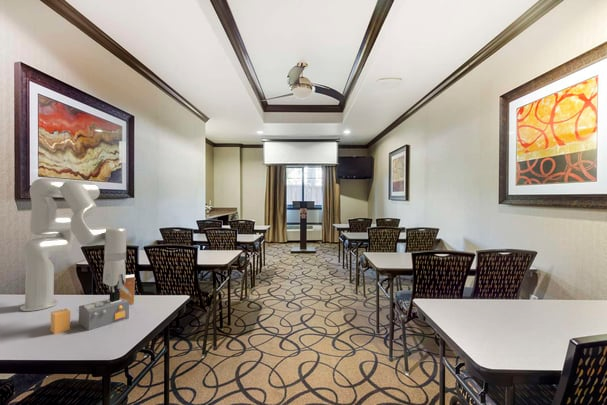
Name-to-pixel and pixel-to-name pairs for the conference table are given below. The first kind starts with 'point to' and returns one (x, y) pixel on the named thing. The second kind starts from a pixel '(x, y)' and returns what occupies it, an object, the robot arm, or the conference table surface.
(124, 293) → the small box
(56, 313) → the cap
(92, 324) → the box
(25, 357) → the conference table surface
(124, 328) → the conference table surface
